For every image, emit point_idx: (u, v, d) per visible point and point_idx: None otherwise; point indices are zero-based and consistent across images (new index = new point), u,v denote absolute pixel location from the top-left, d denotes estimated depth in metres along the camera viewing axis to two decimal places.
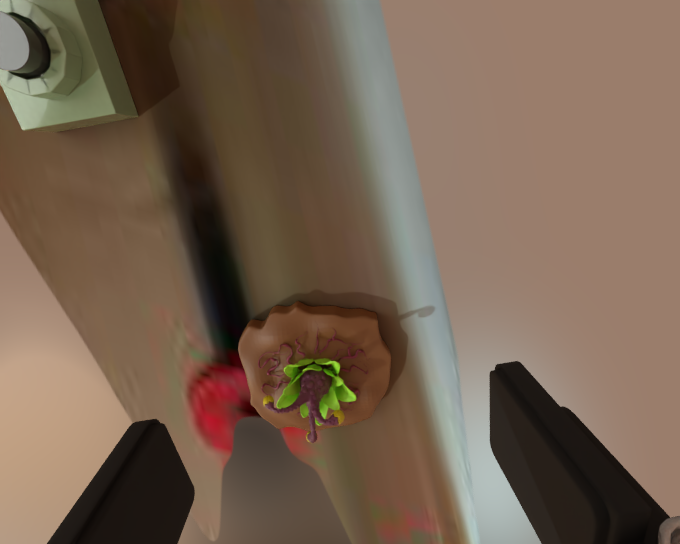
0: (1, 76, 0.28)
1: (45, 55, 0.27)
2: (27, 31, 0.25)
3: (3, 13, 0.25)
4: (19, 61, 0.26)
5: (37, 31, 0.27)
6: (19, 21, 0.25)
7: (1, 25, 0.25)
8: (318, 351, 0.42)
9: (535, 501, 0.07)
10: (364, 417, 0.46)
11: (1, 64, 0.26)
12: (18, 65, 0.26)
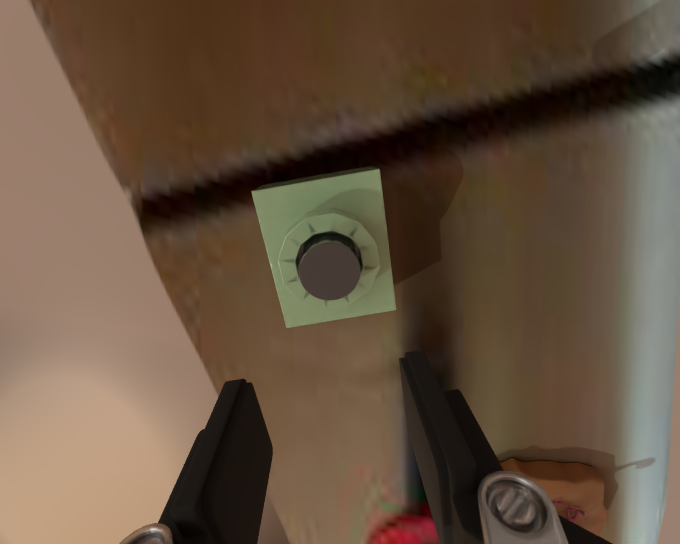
0: (298, 292, 0.24)
1: None
2: (358, 260, 0.21)
3: (341, 246, 0.21)
4: (343, 291, 0.22)
5: None
6: (352, 250, 0.21)
7: (335, 258, 0.21)
8: None
9: (423, 470, 0.08)
10: None
11: (321, 294, 0.22)
12: (341, 295, 0.22)
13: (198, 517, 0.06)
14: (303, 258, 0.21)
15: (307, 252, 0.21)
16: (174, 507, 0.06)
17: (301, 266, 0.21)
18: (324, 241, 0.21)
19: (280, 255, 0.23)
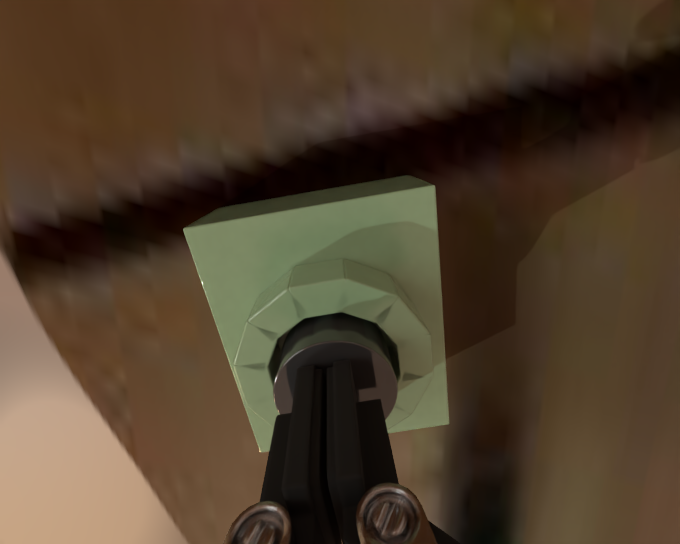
0: None
1: None
2: (393, 369, 0.11)
3: (360, 348, 0.10)
4: None
5: (382, 336, 0.12)
6: (381, 350, 0.10)
7: None
8: None
9: None
10: None
11: None
12: None
13: (307, 495, 0.07)
14: (282, 370, 0.10)
15: (290, 359, 0.10)
16: (285, 485, 0.06)
17: (278, 384, 0.10)
18: (325, 334, 0.10)
19: (238, 357, 0.11)
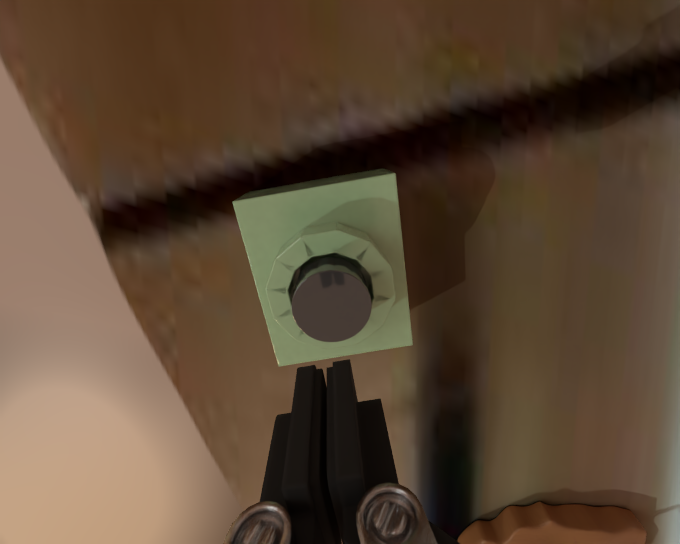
0: (292, 328, 0.19)
1: None
2: None
3: (347, 275, 0.16)
4: (349, 331, 0.17)
5: (362, 275, 0.18)
6: (361, 279, 0.16)
7: (339, 289, 0.16)
8: None
9: None
10: None
11: (321, 335, 0.17)
12: (346, 336, 0.17)
13: (307, 495, 0.07)
14: (297, 290, 0.16)
15: (302, 282, 0.16)
16: (285, 485, 0.06)
17: (295, 300, 0.16)
18: (325, 268, 0.16)
19: (268, 283, 0.18)
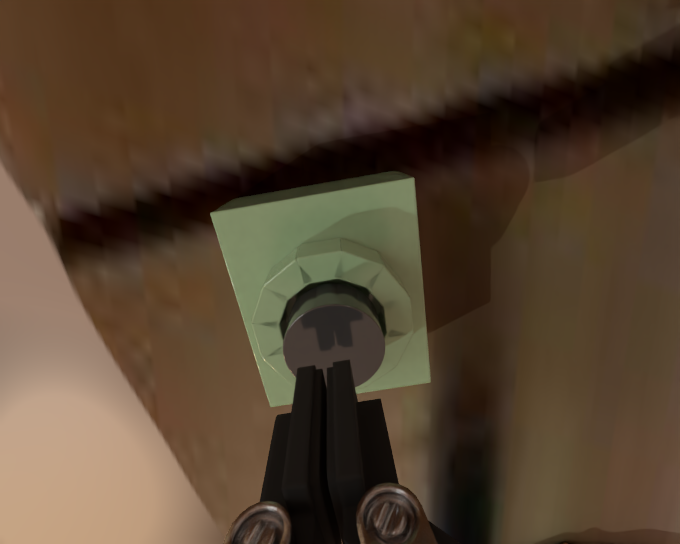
0: (285, 369, 0.15)
1: None
2: None
3: (354, 310, 0.12)
4: (356, 379, 0.13)
5: (373, 305, 0.14)
6: (371, 314, 0.13)
7: (343, 328, 0.12)
8: None
9: None
10: None
11: None
12: None
13: (307, 495, 0.07)
14: (290, 329, 0.12)
15: (297, 320, 0.12)
16: (285, 485, 0.06)
17: (287, 341, 0.13)
18: (325, 300, 0.12)
19: (255, 316, 0.14)
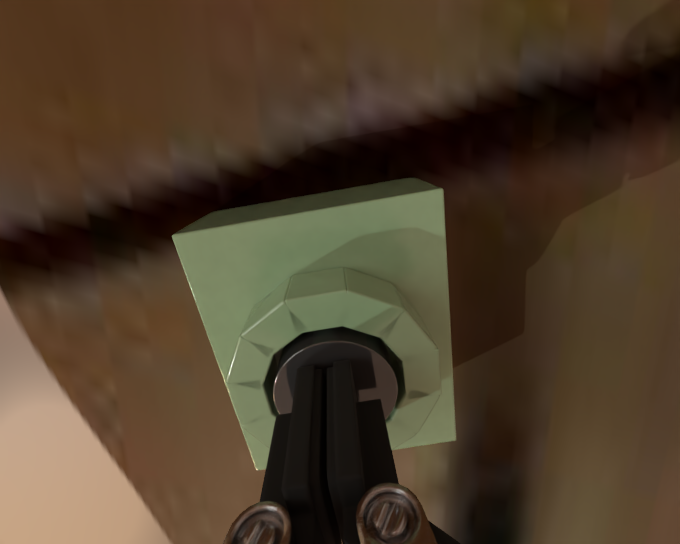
0: None
1: None
2: (393, 370, 0.11)
3: (360, 348, 0.10)
4: None
5: None
6: (381, 351, 0.10)
7: None
8: None
9: None
10: None
11: None
12: None
13: (307, 495, 0.07)
14: (282, 370, 0.10)
15: (290, 359, 0.10)
16: (285, 485, 0.06)
17: (278, 384, 0.10)
18: (325, 334, 0.10)
19: (230, 374, 0.10)
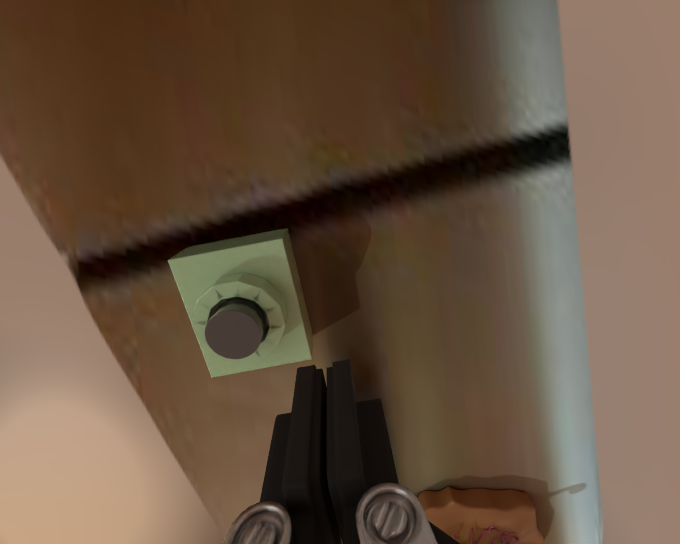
0: None
1: None
2: (259, 324, 0.24)
3: (240, 313, 0.23)
4: (247, 351, 0.24)
5: (259, 311, 0.25)
6: (252, 315, 0.24)
7: (236, 323, 0.23)
8: (473, 542, 0.40)
9: None
10: None
11: (228, 354, 0.24)
12: (245, 354, 0.24)
13: (307, 495, 0.07)
14: (207, 324, 0.23)
15: (210, 319, 0.23)
16: (285, 485, 0.06)
17: (206, 331, 0.24)
18: (226, 308, 0.23)
19: (193, 318, 0.25)
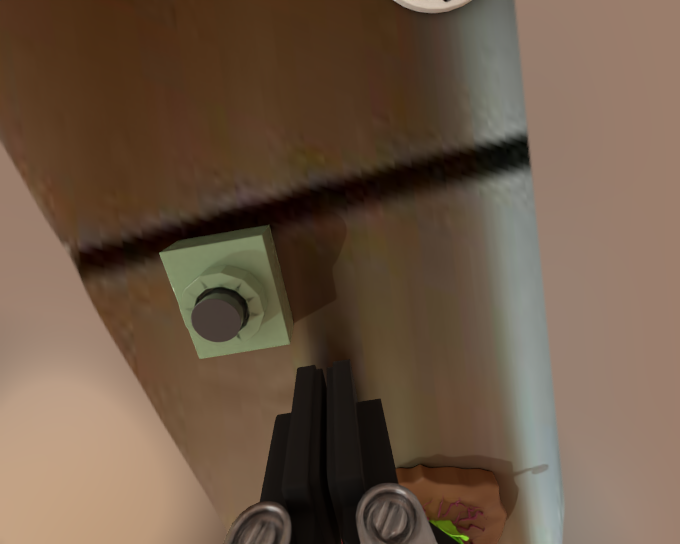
0: None
1: (244, 318, 0.28)
2: (239, 311, 0.27)
3: (222, 301, 0.26)
4: (229, 335, 0.27)
5: (240, 299, 0.28)
6: (233, 303, 0.27)
7: (219, 310, 0.26)
8: (440, 514, 0.43)
9: None
10: None
11: (211, 338, 0.27)
12: (227, 338, 0.27)
13: (307, 495, 0.07)
14: (193, 310, 0.26)
15: (196, 306, 0.26)
16: (285, 485, 0.06)
17: (192, 316, 0.26)
18: (210, 297, 0.26)
19: (181, 305, 0.28)
